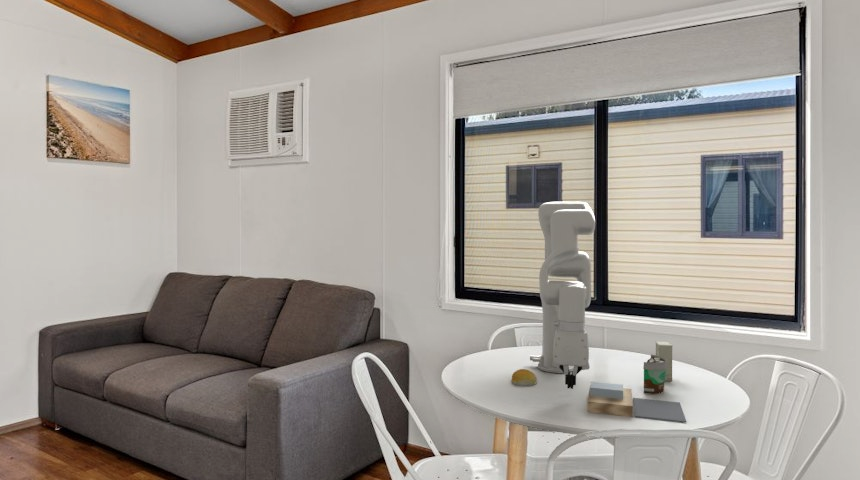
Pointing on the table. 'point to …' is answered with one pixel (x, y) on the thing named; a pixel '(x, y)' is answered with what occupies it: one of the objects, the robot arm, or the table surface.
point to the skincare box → (666, 352)
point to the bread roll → (524, 377)
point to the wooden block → (612, 404)
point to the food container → (654, 374)
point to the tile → (606, 390)
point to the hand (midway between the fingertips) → (570, 387)
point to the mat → (658, 410)
